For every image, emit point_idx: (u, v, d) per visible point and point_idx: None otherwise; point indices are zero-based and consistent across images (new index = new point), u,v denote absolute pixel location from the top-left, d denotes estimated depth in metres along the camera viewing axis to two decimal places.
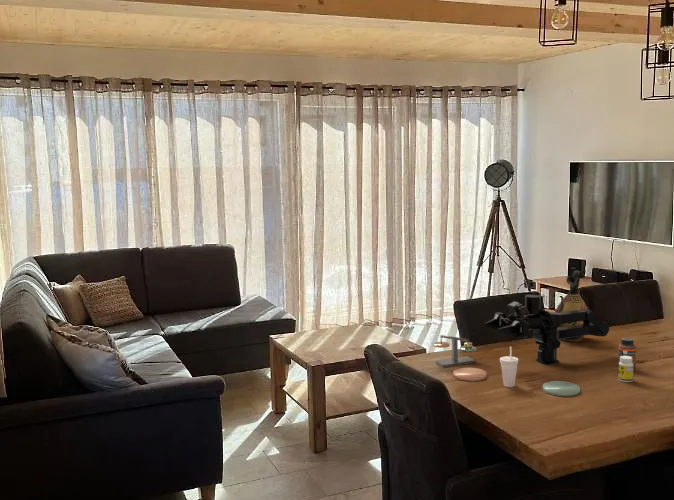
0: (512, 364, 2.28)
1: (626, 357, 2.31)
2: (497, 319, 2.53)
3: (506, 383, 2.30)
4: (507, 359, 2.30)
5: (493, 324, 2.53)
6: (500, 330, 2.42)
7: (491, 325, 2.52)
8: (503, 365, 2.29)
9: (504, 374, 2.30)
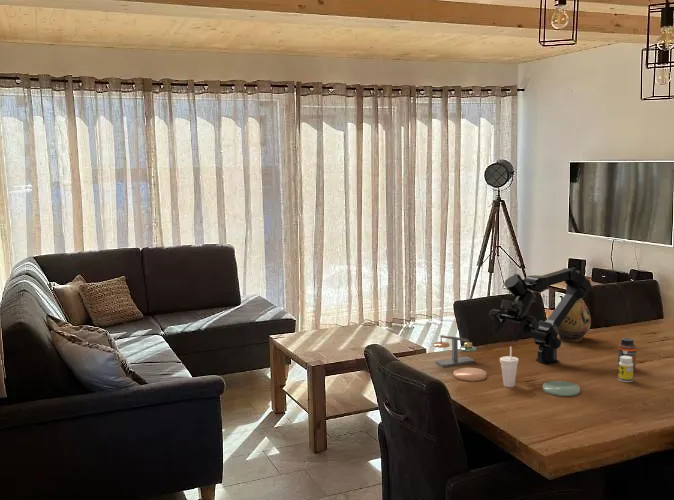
0: (512, 364, 2.28)
1: (626, 357, 2.31)
2: (497, 320, 2.47)
3: (506, 383, 2.30)
4: (507, 359, 2.30)
5: (498, 327, 2.47)
6: (516, 339, 2.38)
7: (497, 330, 2.46)
8: (503, 365, 2.29)
9: (504, 374, 2.30)
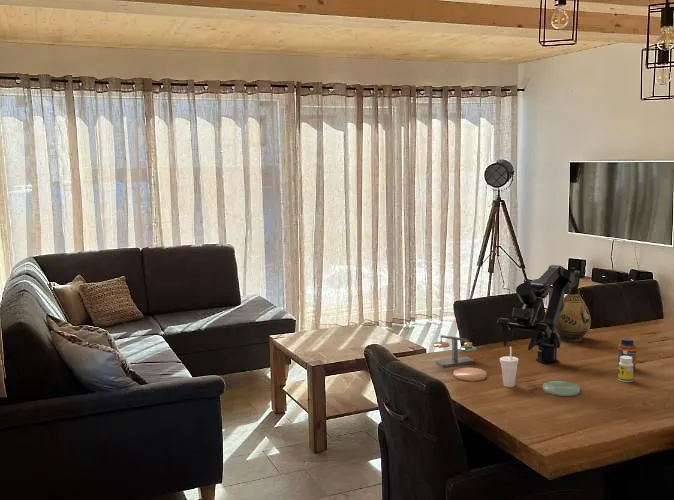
0: (512, 364, 2.28)
1: (626, 357, 2.31)
2: (507, 329, 2.40)
3: (506, 383, 2.30)
4: (507, 359, 2.30)
5: (507, 336, 2.40)
6: (530, 348, 2.32)
7: (507, 339, 2.39)
8: (503, 365, 2.29)
9: (504, 374, 2.30)
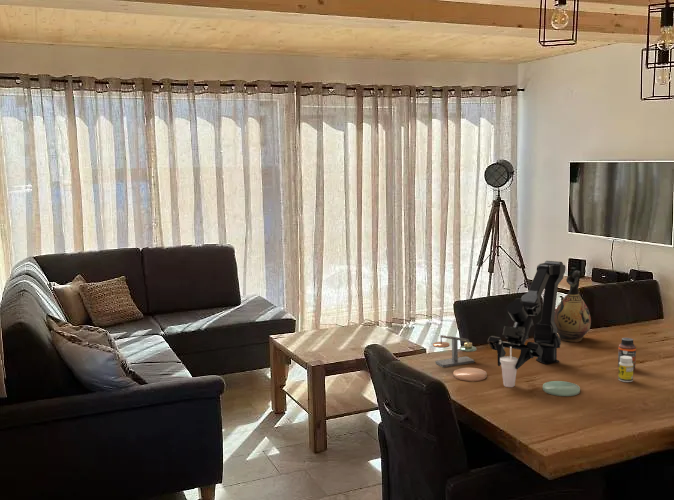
0: (512, 364, 2.28)
1: (626, 357, 2.31)
2: (501, 348, 2.34)
3: (506, 383, 2.30)
4: (507, 359, 2.29)
5: (502, 356, 2.34)
6: (517, 367, 2.28)
7: None
8: (503, 365, 2.29)
9: (504, 374, 2.30)
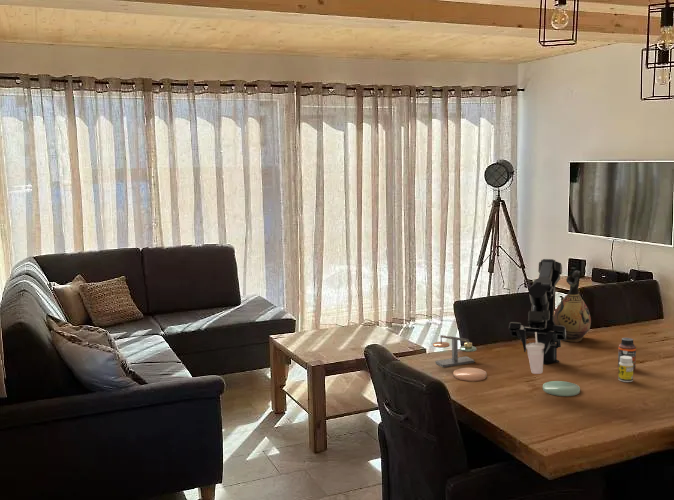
0: (540, 349, 2.23)
1: (626, 357, 2.31)
2: (525, 334, 2.28)
3: (535, 370, 2.25)
4: (534, 345, 2.24)
5: (525, 342, 2.28)
6: (545, 352, 2.23)
7: (525, 344, 2.28)
8: (531, 352, 2.24)
9: (533, 361, 2.24)
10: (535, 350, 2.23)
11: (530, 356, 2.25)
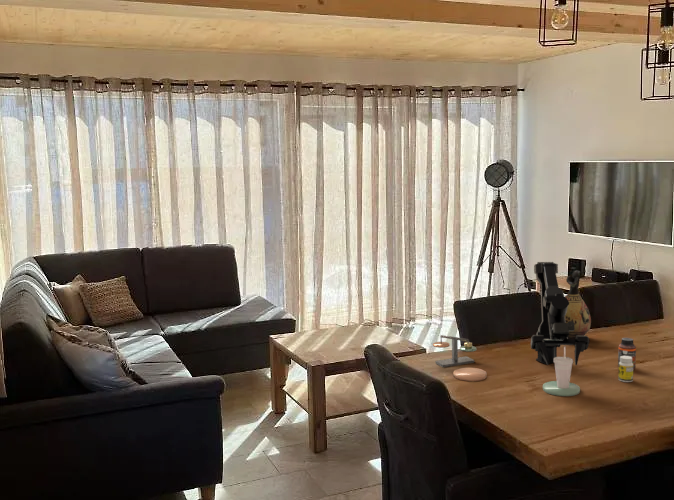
0: (570, 364, 2.22)
1: (626, 357, 2.31)
2: None
3: (563, 385, 2.23)
4: (563, 360, 2.23)
5: None
6: None
7: None
8: (561, 366, 2.22)
9: (562, 376, 2.22)
10: (566, 365, 2.21)
11: (559, 371, 2.22)
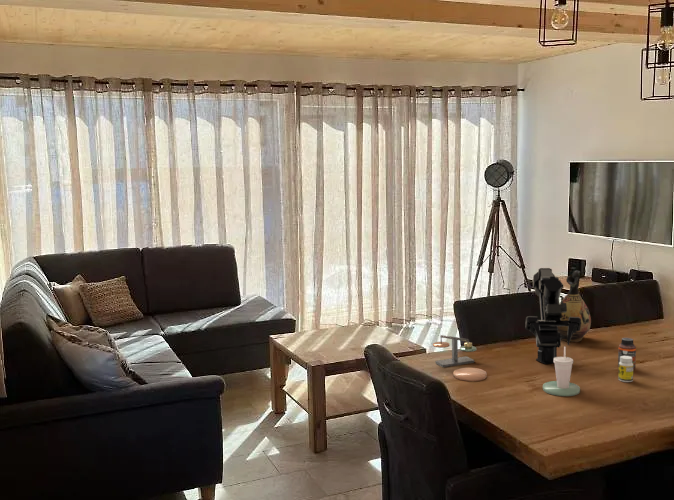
0: (570, 364, 2.22)
1: (626, 357, 2.31)
2: (538, 327, 2.36)
3: (563, 385, 2.23)
4: (563, 360, 2.23)
5: None
6: None
7: None
8: (561, 366, 2.22)
9: (562, 376, 2.22)
10: (566, 365, 2.21)
11: (559, 371, 2.22)
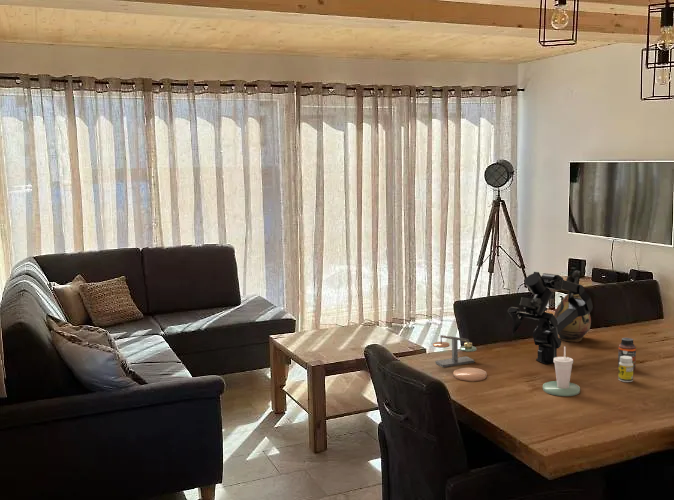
0: (570, 364, 2.22)
1: (626, 357, 2.31)
2: (516, 318, 2.51)
3: (563, 385, 2.23)
4: (563, 360, 2.23)
5: (516, 324, 2.51)
6: (535, 336, 2.42)
7: (516, 327, 2.50)
8: (561, 366, 2.22)
9: (562, 376, 2.22)
10: (566, 365, 2.21)
11: (559, 371, 2.22)
